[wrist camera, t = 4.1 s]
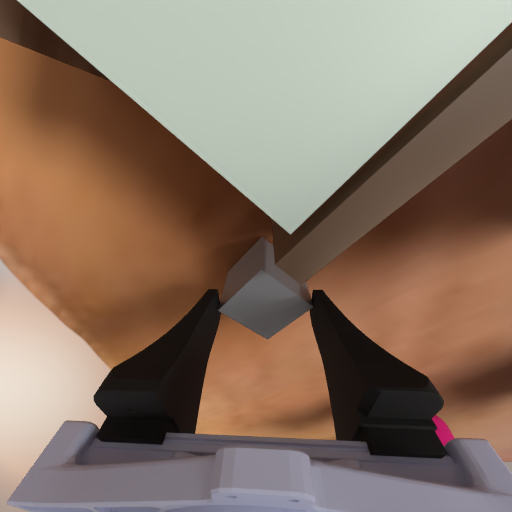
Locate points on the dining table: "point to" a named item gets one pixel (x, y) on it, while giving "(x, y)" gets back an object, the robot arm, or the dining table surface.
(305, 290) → the grey cube
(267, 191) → the trapdoor
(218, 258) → the dining table surface
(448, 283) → the dining table surface
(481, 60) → the frame
